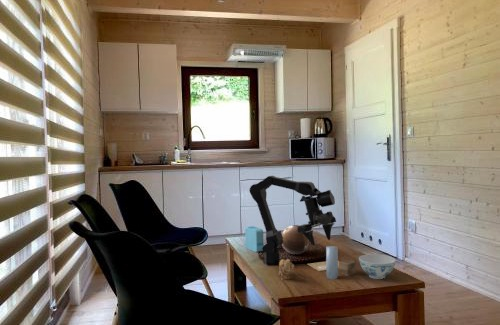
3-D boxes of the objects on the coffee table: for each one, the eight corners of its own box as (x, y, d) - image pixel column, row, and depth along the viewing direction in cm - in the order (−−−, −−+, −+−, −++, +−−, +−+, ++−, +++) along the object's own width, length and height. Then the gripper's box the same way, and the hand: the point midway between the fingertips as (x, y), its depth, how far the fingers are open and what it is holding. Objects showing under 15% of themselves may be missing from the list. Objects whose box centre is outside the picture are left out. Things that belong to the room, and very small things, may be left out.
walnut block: (347, 275, 181) (347, 264, 181) (339, 273, 185) (338, 261, 185) (355, 273, 184) (355, 262, 184) (347, 270, 188) (346, 259, 188)
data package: (263, 251, 225) (263, 229, 224) (256, 252, 222) (256, 230, 222) (252, 247, 235) (251, 225, 234) (245, 248, 233) (244, 226, 232)
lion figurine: (295, 281, 175) (295, 260, 175) (283, 282, 174) (283, 261, 173) (284, 271, 189) (284, 251, 189) (273, 272, 188) (272, 252, 188)
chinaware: (352, 273, 184) (351, 256, 183) (380, 269, 189) (380, 252, 188) (373, 284, 169) (373, 265, 169) (403, 279, 175) (403, 261, 174)
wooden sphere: (275, 252, 222) (275, 224, 221) (299, 249, 228) (299, 221, 228) (291, 259, 208) (290, 229, 207) (315, 255, 215) (315, 226, 214)
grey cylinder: (330, 279, 176) (329, 249, 176) (324, 276, 181) (324, 246, 180) (340, 278, 178) (339, 248, 177) (334, 275, 182) (333, 245, 182)
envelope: (319, 271, 188) (319, 270, 188) (307, 264, 199) (307, 263, 199) (349, 267, 193) (349, 266, 193) (336, 260, 204) (336, 259, 204)
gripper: (307, 212, 180) (317, 248, 179) (339, 202, 190) (348, 236, 188) (293, 214, 189) (301, 248, 188) (324, 205, 199) (332, 237, 198)
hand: (321, 242), depth 191 cm, fingers open, 9 cm apart
